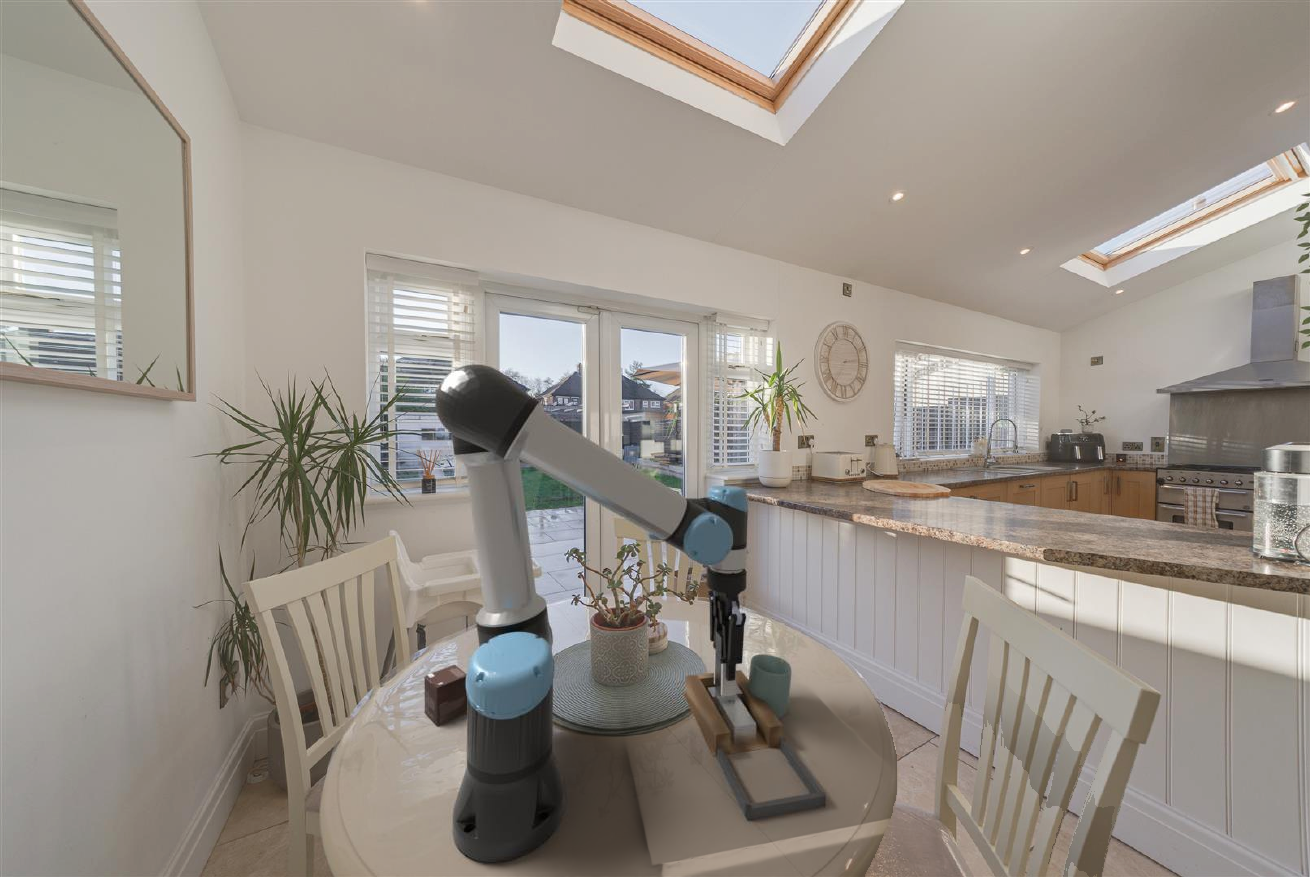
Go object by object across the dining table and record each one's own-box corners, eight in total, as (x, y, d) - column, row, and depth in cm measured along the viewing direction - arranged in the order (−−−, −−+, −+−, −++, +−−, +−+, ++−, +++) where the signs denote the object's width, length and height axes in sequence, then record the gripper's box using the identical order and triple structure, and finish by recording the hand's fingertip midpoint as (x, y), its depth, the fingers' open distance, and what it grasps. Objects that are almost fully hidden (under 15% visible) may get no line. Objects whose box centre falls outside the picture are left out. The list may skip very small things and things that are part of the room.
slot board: (712, 765, 73) (713, 735, 73) (683, 700, 91) (683, 676, 91) (785, 754, 76) (785, 725, 76) (742, 693, 94) (743, 669, 94)
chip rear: (725, 729, 80) (726, 712, 80) (718, 715, 84) (718, 699, 84) (746, 726, 81) (746, 709, 81) (737, 712, 85) (738, 696, 85)
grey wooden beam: (712, 712, 84) (713, 638, 84) (707, 703, 87) (708, 631, 86) (742, 708, 85) (743, 635, 85) (736, 699, 88) (737, 629, 88)
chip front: (734, 744, 76) (734, 727, 76) (725, 729, 80) (725, 712, 80) (755, 741, 77) (756, 724, 77) (746, 726, 81) (746, 709, 81)
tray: (746, 831, 61) (747, 809, 61) (716, 767, 73) (716, 748, 73) (825, 816, 64) (825, 795, 64) (784, 756, 75) (784, 739, 75)
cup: (789, 732, 82) (793, 678, 82) (745, 723, 83) (750, 669, 84) (785, 708, 90) (789, 658, 90) (745, 700, 91) (750, 651, 91)
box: (468, 712, 86) (468, 675, 86) (436, 727, 82) (436, 688, 82) (455, 699, 91) (455, 663, 90) (423, 713, 86) (423, 675, 86)
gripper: (763, 580, 78) (761, 712, 79) (729, 555, 94) (727, 665, 94) (723, 582, 77) (721, 717, 77) (695, 556, 92) (693, 669, 93)
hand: (724, 688), depth 86 cm, fingers closed on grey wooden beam, 3 cm apart
